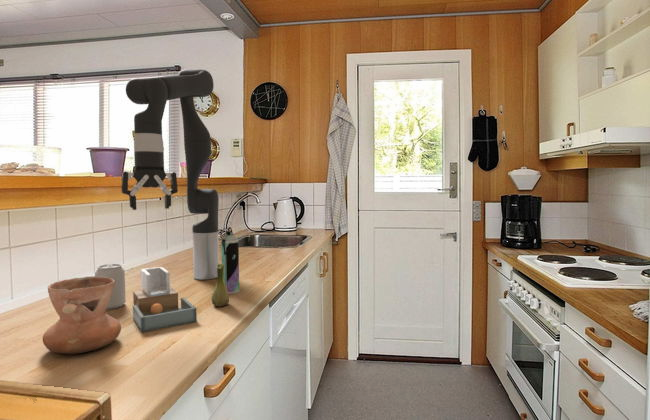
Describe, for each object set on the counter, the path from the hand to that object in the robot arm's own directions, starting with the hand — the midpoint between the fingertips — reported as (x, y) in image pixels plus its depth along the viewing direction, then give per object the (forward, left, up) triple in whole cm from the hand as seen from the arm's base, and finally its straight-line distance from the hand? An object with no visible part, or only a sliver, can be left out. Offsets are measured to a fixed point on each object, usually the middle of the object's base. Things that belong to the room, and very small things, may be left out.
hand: (150, 209), depth 112 cm
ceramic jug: (+20, -18, -28) cm, 39 cm away
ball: (+10, -1, -27) cm, 29 cm away
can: (-8, -10, -28) cm, 31 cm away
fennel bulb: (+9, +16, -28) cm, 34 cm away
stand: (+2, 0, -28) cm, 28 cm away
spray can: (-3, +24, -28) cm, 37 cm away
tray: (+13, 0, -28) cm, 31 cm away
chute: (+2, 0, -23) cm, 23 cm away
